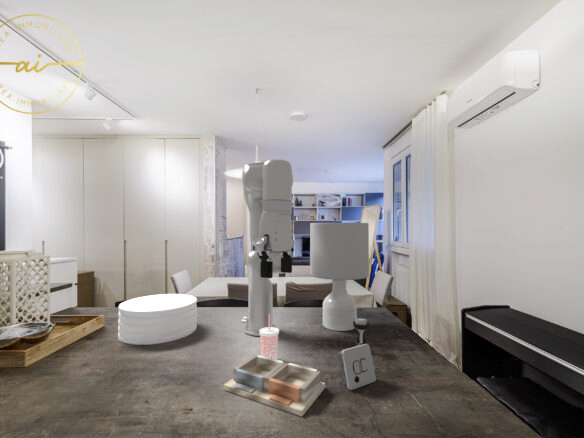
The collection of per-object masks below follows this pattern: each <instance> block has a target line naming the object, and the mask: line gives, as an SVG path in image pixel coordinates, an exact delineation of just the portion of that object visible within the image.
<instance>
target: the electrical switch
mask: <svg viewBox="0 0 584 438" xmlns="http://www.w3.org/2000/svg"><path fill="white" fill-rule="evenodd" d="M336 352H337V359H338V365H339V371H340V377H341V382H342V385H344V386H346V387H347V389H348V390H349V391H354V390H356V389H359V388H361V387H364V386H366V385H369V384H371V383H375V382H376V381H377V377H376V376H377V375H376V373H375V366H374V361H373V357H372V356H373V355H372V352H371V346H370V344H368V343H365V344H363V345H358V346H357V345H355V346H353V347H349V348H345V349H342V350H341V351H336Z"/></svg>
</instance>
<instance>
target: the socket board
mask: <svg viewBox="0 0 584 438" xmlns="http://www.w3.org/2000/svg"><path fill="white" fill-rule="evenodd" d="M232 370H233V372H232V373H233V374H232V375H233V377H232V378H231V379H229V380H228V381H227V382H225V383H224V384H222V389H223V391H226V392H229V393H233V394H235V395H238V396H240V397H241V396H242V397H243V398H247V399H249V400H252V401H256V402H258V403H260V404H261V403H262V404H263V405H267V406H269V407H273V408H276V409H279V410H282V411H284V412H287V413H290V414H293V415H295V416H299V417H303V416H304V415H305V414H306V412H307V411H308V410H309V409H310V407H311V406H312V405H313V403H314V402H315V401H316V400H317V398H318V397H319V396H320V395H321V394H322V393H323V391H324V390H325V389H326V383H325V382H322V381H321V379H322V373H321V371H318V369H316V368H313V367H309V366H304V365H301V364H297V363H294V362H293V363H292V362H289V363H287V362H284V360H280V359H278V358H277V359H273V358H269V357H265V356H261V354H259V355H256V354H254V355H252V356H251V357H249V358H247V359H246V360H244V361H242V362H241V363H239V364H238V365H236V366H235V367H233V369H232Z"/></svg>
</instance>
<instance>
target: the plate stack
mask: <svg viewBox="0 0 584 438" xmlns="http://www.w3.org/2000/svg"><path fill="white" fill-rule="evenodd" d="M197 303H198V299H197V297H196V296H194V295H191V294H183V293H159V294H151V295H145V296H143V295H142V296H138V297H134V298H131V299H128V300H125V301H123V302H121V303H119V305H118V314H117V315H118V316H117V317H118V321H117V324H118V326H117V331H118V333H117V338H118V340H119V341H120V342H122V343H123V344H124V343H125V344H128V345H138V346H141V345H145V346H146V345H156V344H163V343H169V342H172V341H176V340H180V339H183V338H186V337H188V336H189V335H191V334H193V333H194V332H195V331H196V330H197V328H198V327H197V325H198V324H197V322H198V319H197V315H198V312H197V311H198V310H197V309H198V305H197Z"/></svg>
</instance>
